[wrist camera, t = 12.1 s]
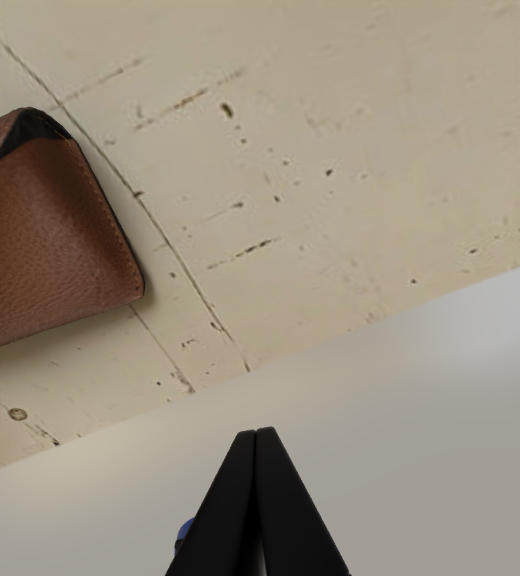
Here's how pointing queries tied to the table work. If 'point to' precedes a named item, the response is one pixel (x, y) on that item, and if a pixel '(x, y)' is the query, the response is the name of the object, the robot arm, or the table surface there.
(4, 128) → the sunglasses case
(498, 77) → the table surface
